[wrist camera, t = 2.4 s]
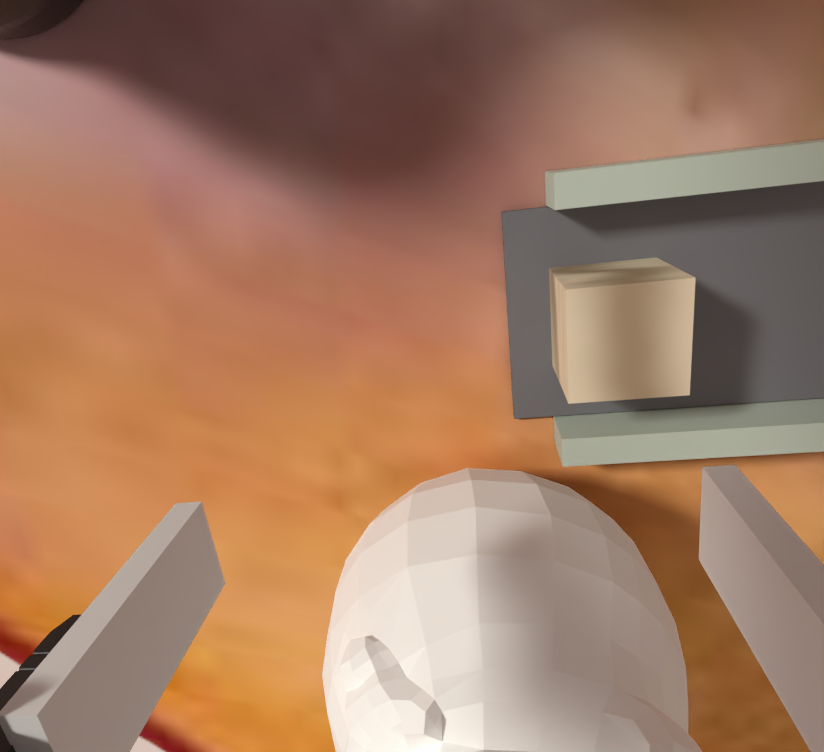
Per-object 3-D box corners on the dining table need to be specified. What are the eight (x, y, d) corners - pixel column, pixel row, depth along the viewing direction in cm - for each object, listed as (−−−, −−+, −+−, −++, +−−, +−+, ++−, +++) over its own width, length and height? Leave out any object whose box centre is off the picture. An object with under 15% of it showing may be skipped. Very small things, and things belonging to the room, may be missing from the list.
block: (552, 365, 36) (568, 403, 30) (549, 268, 34) (565, 289, 28) (654, 357, 35) (689, 395, 30) (656, 257, 33) (695, 277, 28)
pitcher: (484, 359, 37) (517, 713, 13) (683, 534, 40) (994, 1069, 16) (306, 539, 43) (112, 1004, 19) (491, 679, 46) (519, 1225, 22)
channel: (554, 440, 38) (562, 466, 35) (544, 171, 33) (553, 172, 29) (852, 421, 36) (891, 447, 33) (897, 130, 30) (949, 126, 27)
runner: (513, 416, 38) (514, 421, 37) (501, 211, 33) (502, 212, 33) (1033, 380, 34) (1045, 385, 34) (1094, 146, 30) (1110, 146, 29)
